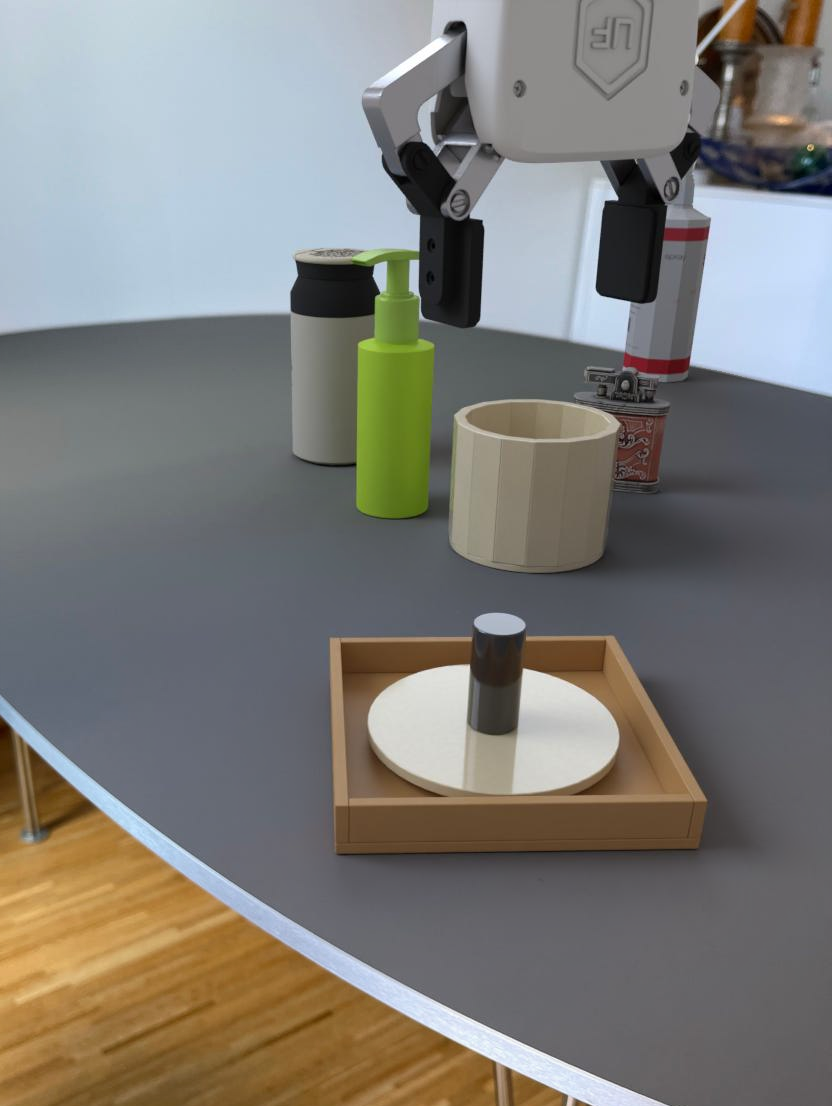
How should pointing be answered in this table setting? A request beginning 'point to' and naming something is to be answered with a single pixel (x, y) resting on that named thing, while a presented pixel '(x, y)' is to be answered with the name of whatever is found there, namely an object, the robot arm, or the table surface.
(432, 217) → the robot arm
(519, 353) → the table surface
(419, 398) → the soap dispenser
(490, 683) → the tin lid
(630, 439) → the lighter
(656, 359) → the glue bottle
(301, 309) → the travel mug
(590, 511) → the tin
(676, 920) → the table surface
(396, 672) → the tray
